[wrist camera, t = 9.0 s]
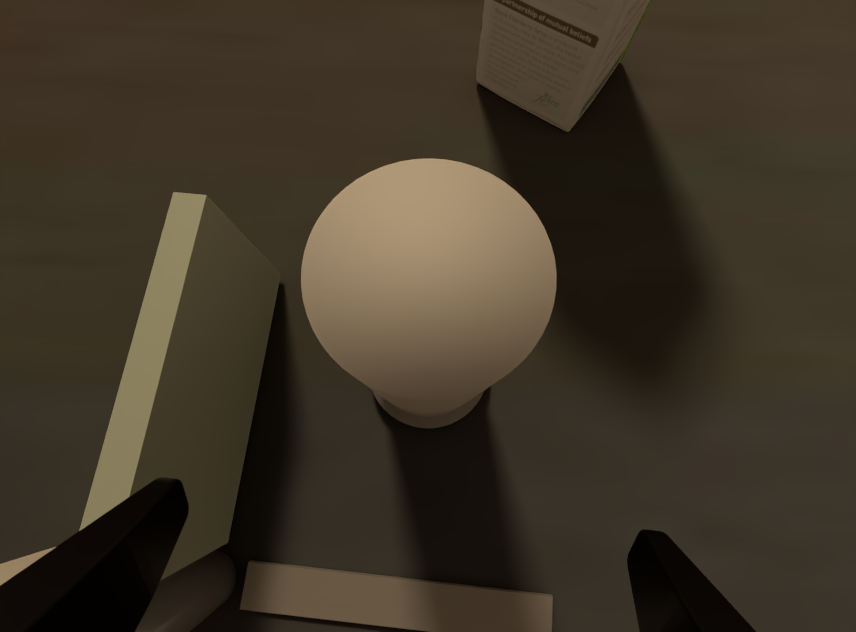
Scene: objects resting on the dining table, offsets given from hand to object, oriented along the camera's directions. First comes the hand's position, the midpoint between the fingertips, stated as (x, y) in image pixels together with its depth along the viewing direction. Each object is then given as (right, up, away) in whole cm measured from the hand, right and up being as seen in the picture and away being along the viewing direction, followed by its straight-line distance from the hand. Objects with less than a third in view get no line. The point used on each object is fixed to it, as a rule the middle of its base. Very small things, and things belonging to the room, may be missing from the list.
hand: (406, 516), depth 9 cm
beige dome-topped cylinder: (0, +2, +10) cm, 10 cm away
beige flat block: (-8, +1, +10) cm, 12 cm away
